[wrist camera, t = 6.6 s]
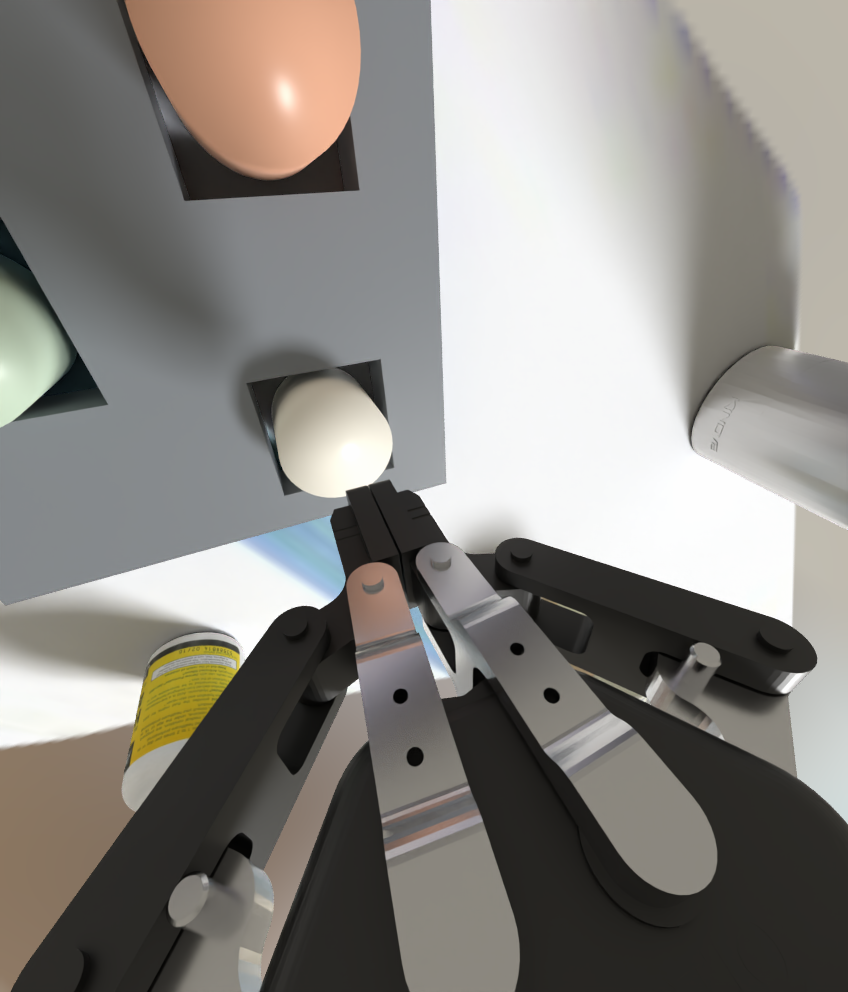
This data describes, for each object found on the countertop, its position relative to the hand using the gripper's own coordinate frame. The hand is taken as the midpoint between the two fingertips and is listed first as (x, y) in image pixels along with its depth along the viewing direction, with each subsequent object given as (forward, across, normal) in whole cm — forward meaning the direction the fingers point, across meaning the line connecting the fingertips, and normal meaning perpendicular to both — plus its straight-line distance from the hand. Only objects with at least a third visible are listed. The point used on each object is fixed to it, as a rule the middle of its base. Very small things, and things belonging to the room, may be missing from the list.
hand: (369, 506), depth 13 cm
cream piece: (+8, 0, 0) cm, 8 cm away
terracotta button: (+6, 0, -11) cm, 13 cm away
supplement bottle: (+8, +12, +14) cm, 20 cm away
